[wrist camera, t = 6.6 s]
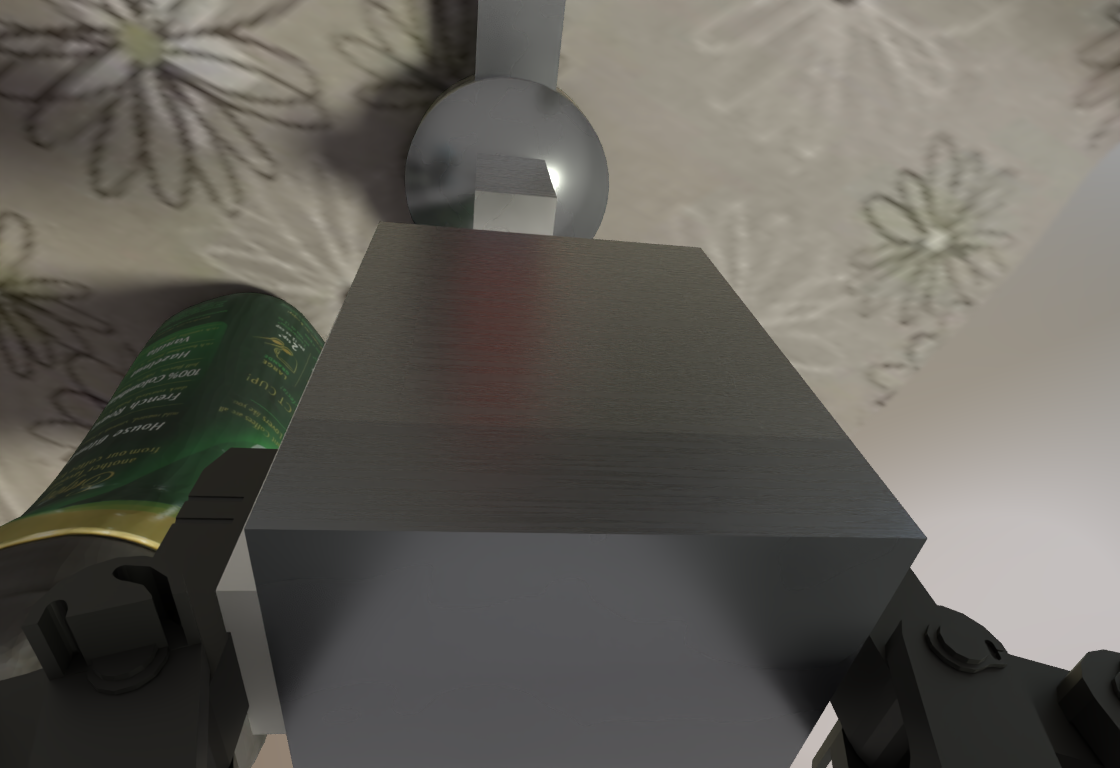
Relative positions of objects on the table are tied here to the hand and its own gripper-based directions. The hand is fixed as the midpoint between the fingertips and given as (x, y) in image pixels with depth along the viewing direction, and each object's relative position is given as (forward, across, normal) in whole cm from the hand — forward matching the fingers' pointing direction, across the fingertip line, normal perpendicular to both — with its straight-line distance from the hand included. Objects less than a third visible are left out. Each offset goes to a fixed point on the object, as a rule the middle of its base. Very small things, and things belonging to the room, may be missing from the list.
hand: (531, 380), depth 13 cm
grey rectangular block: (0, 0, 0) cm, 0 cm away
